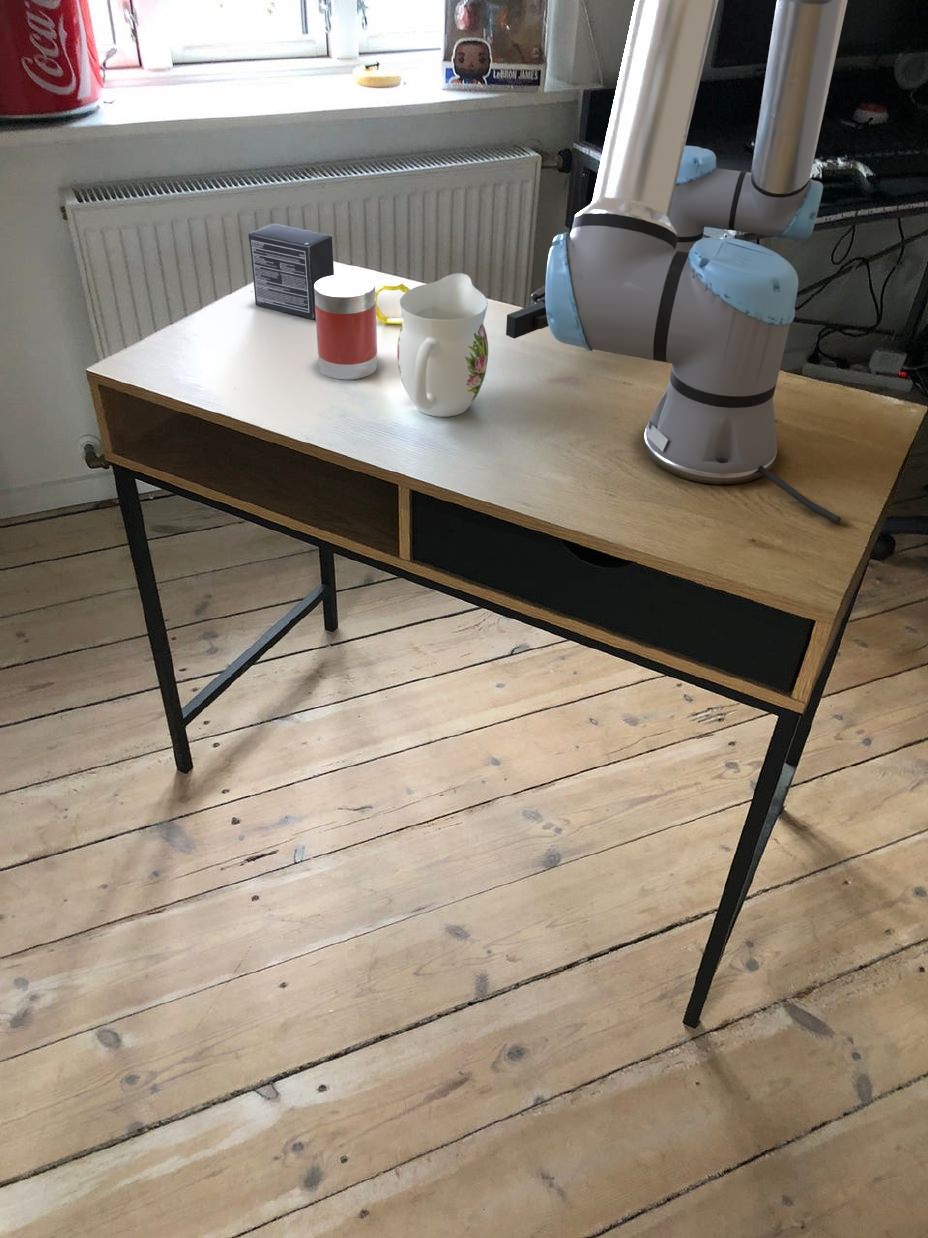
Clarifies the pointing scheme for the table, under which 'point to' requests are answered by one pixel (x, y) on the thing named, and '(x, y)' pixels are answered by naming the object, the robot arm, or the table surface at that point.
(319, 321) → the tin can
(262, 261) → the small box
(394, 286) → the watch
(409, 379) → the pitcher
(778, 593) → the table surface
